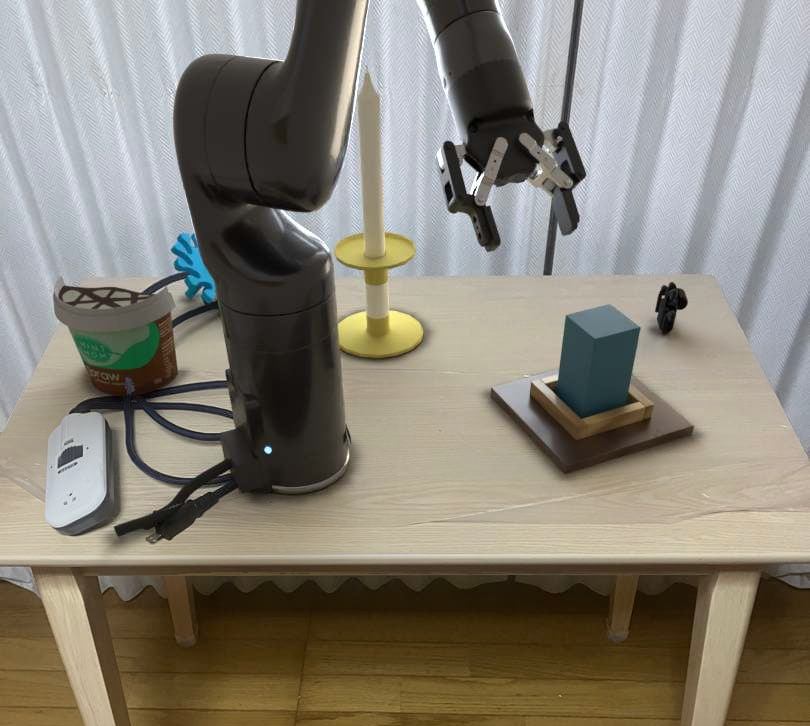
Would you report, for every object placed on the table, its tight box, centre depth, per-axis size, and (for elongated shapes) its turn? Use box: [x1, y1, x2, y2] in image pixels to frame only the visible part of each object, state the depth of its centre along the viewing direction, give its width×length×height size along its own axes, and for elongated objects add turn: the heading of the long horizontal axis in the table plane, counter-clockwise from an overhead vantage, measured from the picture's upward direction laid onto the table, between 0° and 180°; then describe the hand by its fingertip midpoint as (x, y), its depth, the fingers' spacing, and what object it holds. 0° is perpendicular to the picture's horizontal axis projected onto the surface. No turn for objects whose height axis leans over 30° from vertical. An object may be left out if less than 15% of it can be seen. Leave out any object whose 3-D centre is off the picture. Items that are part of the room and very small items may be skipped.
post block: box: [556, 303, 642, 419], centre depth 80 cm, size 5×5×9 cm
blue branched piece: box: [170, 232, 216, 304], centre depth 101 cm, size 11×6×10 cm
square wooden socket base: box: [490, 368, 695, 475], centre depth 83 cm, size 14×14×2 cm
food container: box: [52, 276, 179, 397], centre depth 85 cm, size 12×6×10 cm, turn 77°
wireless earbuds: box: [654, 281, 689, 336], centre depth 94 cm, size 7×2×5 cm, turn 176°
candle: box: [333, 64, 424, 359], centre depth 86 cm, size 10×10×27 cm
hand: (533, 240), depth 83 cm, fingers open, 8 cm apart
